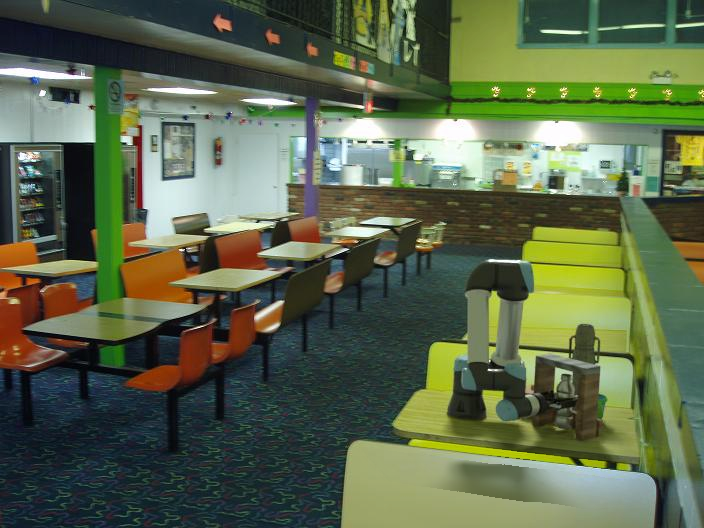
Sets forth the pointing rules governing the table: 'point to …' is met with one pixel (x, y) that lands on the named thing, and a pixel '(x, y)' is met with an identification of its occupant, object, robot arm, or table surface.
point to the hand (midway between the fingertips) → (573, 395)
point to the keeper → (587, 393)
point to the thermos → (583, 350)
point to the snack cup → (601, 405)
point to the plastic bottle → (564, 391)
